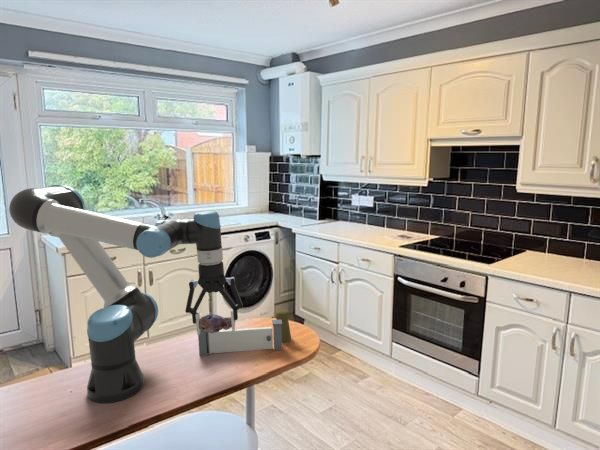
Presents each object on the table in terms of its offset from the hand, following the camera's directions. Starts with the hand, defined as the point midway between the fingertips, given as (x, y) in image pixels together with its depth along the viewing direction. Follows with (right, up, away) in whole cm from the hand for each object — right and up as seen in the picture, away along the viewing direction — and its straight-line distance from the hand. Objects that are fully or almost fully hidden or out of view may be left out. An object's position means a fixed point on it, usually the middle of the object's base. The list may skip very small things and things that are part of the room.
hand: (216, 331), depth 131 cm
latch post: (+18, -10, +15) cm, 26 cm away
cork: (+20, -9, +22) cm, 31 cm away
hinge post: (-7, -11, +12) cm, 17 cm away
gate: (+6, -10, +13) cm, 17 cm away
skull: (+1, 0, +1) cm, 1 cm away
